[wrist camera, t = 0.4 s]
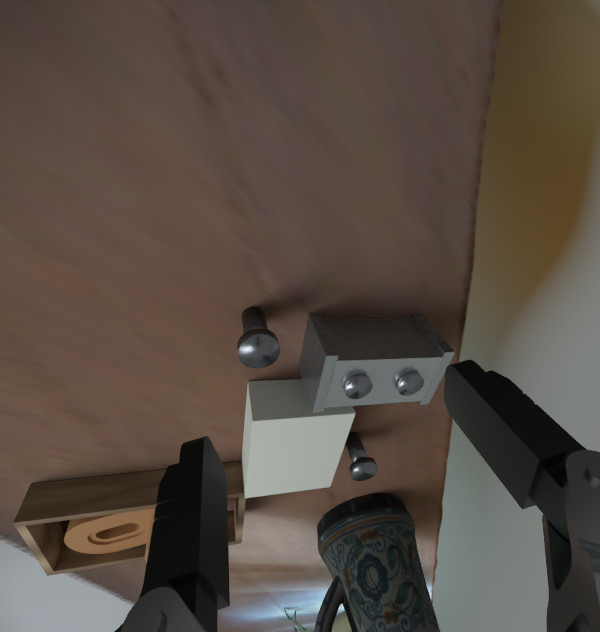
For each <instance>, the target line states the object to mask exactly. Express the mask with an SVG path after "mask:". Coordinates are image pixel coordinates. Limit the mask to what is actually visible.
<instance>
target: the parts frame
mask: <svg viewBox="0 0 600 632" xmlns="http://www.w3.org/2000/svg"><path fill="white" fill-rule="evenodd" d="M222 464H223V466H224V470H225V474H226V481H227V499H230V498H235V504H234V511H227V517H228V545H233V544H239V543H241V542H242V532H243V522H244V512H245V503H246V498H245V493H244V480H243V467H242V461H238V462H229V463H222ZM166 470H167V469H164V470H154V471H145V472H136V473H126V474H117V475H108V476H98V477H89V478H79V479H70V480H61V481H51V482H42V483H33V484H31V485H30V487H29V489H28V491H27V494H26V496H25V498H24V500H23V503H22V505H21V507H20V509H19V511H18V514H17V516H16V518H15V520H14V522H13V524H14V525H15V527H16V528H17V530H18V531H19V533H20V534H21V536H22V537H23V539H24V540H25V542H26V543H27V545H28V546H29V548H30V550H31V551H32V553H33V554H34V556H35V557H36V559H37V560H38V562H39V563H40V565H41V566H42V568H43V569H44V571H45V572H46V574H47V575H54V574H60V573H66V572H72V571H78V570H84V569H90V568H96V567H102V566H108V565H114V564H120V563H126V562H132V561H138V560H144V559H145V551H146V544H147V543H146V544H143V545H139V546H136V547H132V548H129V549H125V550H122V551H118V552H113V553H107V554H87V553H81V552H77V551H75V550H72V549H70V548H69V547H68V546H67V545H66V544H65V542H64V537H65V532H64V530H63V528H62V526H61V524H60V522H59V521H65V520H73V519H80V518H88V517H95V516H102V515H110V514H117V513H125V512H132V511H140V510H147V509H155V508H156V506H157V503H156V501H157V495H158V489H159V484H160V482H161V480H162V478H163V476H164V474H165V472H166Z"/></svg>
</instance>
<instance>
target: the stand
mask: <svg viewBox="0 0 600 632" xmlns="http://www.w3.org/2000/svg"><path fill="white" fill-rule="evenodd" d="M355 414H356V413H355V411H354V408H353V406H343V407H329V408H324V411H323V412H317V413H312V409H311V406H310V403H309V399H308V396H307V393H306V389H305V386H304V383H303V379H288V380H267V381H248V387H247V399H246V411H245V424H244V436H243V449H242V467H243V480H244V493H245V498H251V497H259V496H266V495H274V494H281V493H288V492H296V491H303V490H311V489H318V488H326V487H330V486H331V483H332V480H333V477H334V474H335V471H336V469H337V466H338V463H339V460H340V457H341V454H342V451H343V448H344V445H345V443H346V440H347V437H348V434H349V431H350V428H351V425H352V422H353V419H354V417H355Z"/></svg>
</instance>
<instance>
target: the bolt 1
mask: <svg viewBox="0 0 600 632" xmlns="http://www.w3.org/2000/svg"><path fill="white" fill-rule="evenodd" d="M242 323H243V331H244V334H243V335H242V336H241V337H240V339H239V341H238V356H239V359H240V361H241V362H242V363H243V364H244V365H246V366H248V367H251V368H263V367H267V366H269V365H271V364H272V363H274V362H275V361H276V360H277V358H278V357H279V354H280V347H279V343H278V339H277V337H276V335H275V334H274V333H273V332H271V331H270V330H268V329H267V324H266V320H265V315H264V312H263V311H262V309H260V308H258V307H249V308H247V309H246V310H244V312H243V313H242Z"/></svg>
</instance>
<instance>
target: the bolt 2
mask: <svg viewBox="0 0 600 632" xmlns="http://www.w3.org/2000/svg"><path fill="white" fill-rule="evenodd" d="M345 444H346V446H347V449H348V452H349V455H350V457H351V460H352V464H351V466H350V472H351V475H352V478H353V479H354V480H356V481H363V480H367V479H369V478H371V477H373V476H374V475H375V474H376V473H377V472H378V467H377V465H376V463H375V460H374V459H373V458H370V457H368V456H367V454H366V451H365V449H364V447H363V444H362V442H361V439H360V437H359V434H358V433H356V432H351V433H349V434H348V437H347V440H346V443H345Z"/></svg>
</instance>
